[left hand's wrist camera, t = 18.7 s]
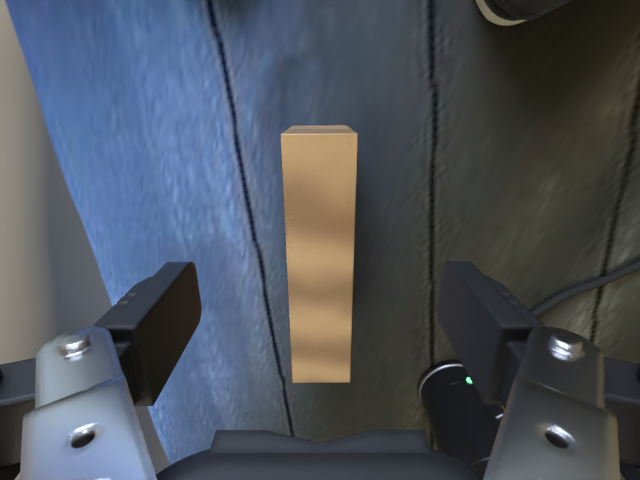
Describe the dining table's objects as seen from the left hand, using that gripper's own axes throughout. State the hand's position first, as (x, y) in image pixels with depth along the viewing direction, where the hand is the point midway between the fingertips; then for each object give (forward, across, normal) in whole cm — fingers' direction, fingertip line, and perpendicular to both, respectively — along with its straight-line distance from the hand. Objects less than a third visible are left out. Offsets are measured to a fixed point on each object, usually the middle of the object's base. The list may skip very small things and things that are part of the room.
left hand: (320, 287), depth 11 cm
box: (+29, 0, -9) cm, 30 cm away
